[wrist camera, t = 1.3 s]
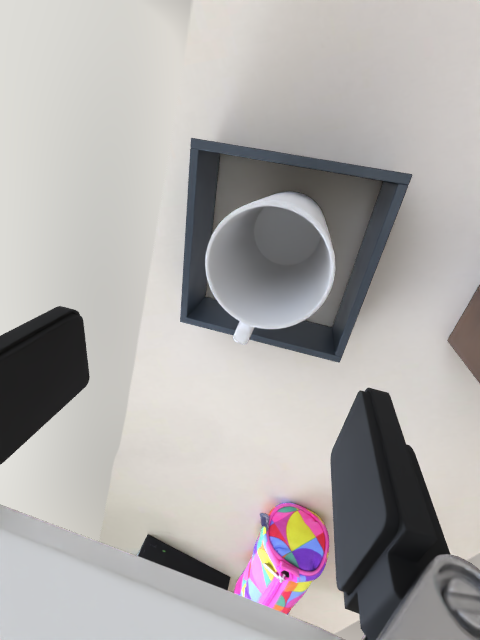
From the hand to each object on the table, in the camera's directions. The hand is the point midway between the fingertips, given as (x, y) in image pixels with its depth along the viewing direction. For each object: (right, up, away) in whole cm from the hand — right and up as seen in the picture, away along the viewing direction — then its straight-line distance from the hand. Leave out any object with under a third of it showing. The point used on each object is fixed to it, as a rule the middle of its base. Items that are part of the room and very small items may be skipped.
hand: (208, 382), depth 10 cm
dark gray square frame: (+5, +9, +17) cm, 19 cm away
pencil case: (+7, -32, +37) cm, 49 cm away
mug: (+5, +9, +17) cm, 20 cm away
